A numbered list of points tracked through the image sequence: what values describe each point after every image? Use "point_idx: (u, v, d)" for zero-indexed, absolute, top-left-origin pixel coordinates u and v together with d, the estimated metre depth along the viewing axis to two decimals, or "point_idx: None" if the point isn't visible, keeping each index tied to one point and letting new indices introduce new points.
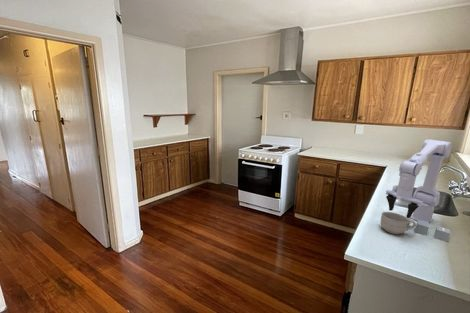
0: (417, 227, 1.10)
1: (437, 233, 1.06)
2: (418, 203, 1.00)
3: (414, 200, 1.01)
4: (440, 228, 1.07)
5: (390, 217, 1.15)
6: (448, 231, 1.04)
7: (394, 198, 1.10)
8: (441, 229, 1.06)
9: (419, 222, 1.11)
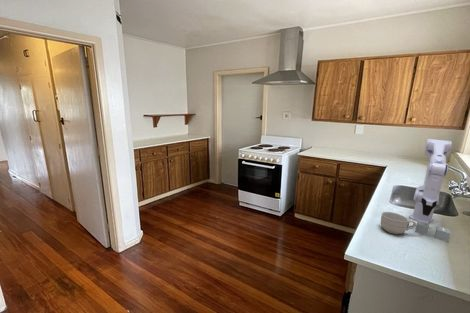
0: (417, 227, 1.10)
1: (437, 233, 1.06)
2: (426, 201, 1.03)
3: (426, 199, 1.04)
4: (440, 228, 1.07)
5: (390, 217, 1.15)
6: (448, 231, 1.04)
7: None
8: (441, 229, 1.06)
9: (419, 222, 1.11)
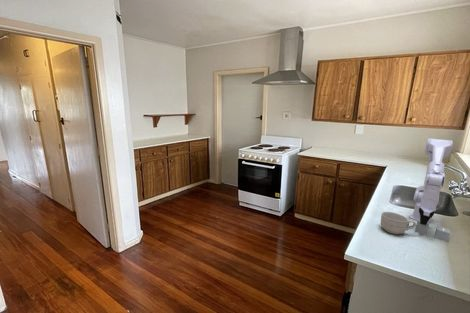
0: (417, 227, 1.10)
1: (437, 233, 1.06)
2: (423, 212, 1.04)
3: (423, 209, 1.05)
4: (440, 228, 1.07)
5: (390, 217, 1.15)
6: (448, 231, 1.04)
7: None
8: (441, 229, 1.06)
9: (419, 222, 1.11)
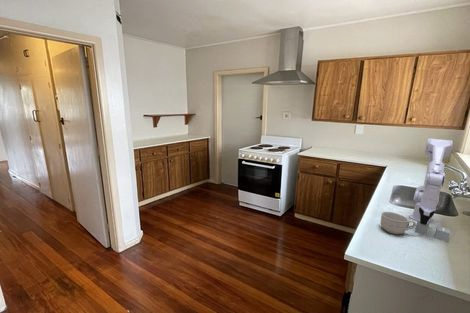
0: (417, 227, 1.10)
1: (437, 233, 1.06)
2: (424, 211, 1.04)
3: (423, 209, 1.05)
4: (440, 228, 1.07)
5: (390, 217, 1.15)
6: (448, 231, 1.04)
7: None
8: (441, 229, 1.06)
9: (419, 222, 1.11)
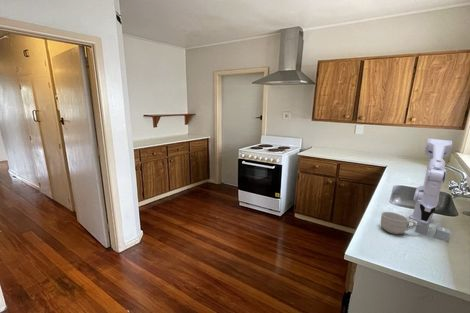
0: (417, 227, 1.10)
1: (437, 233, 1.06)
2: (425, 208, 1.04)
3: (424, 205, 1.05)
4: (440, 228, 1.07)
5: (390, 217, 1.15)
6: (448, 231, 1.04)
7: None
8: (441, 229, 1.06)
9: (419, 223, 1.11)
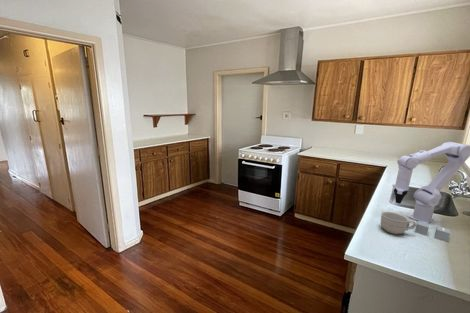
0: (417, 227, 1.10)
1: (437, 233, 1.06)
2: (397, 191, 1.15)
3: (397, 188, 1.16)
4: (440, 228, 1.07)
5: (390, 217, 1.15)
6: (448, 231, 1.04)
7: None
8: (441, 229, 1.06)
9: (419, 223, 1.11)
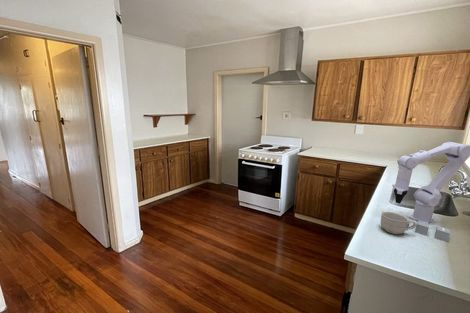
0: (417, 227, 1.10)
1: (437, 233, 1.06)
2: (397, 191, 1.15)
3: (397, 188, 1.16)
4: (440, 228, 1.07)
5: (390, 217, 1.15)
6: (448, 231, 1.04)
7: None
8: (441, 229, 1.06)
9: (419, 223, 1.11)
